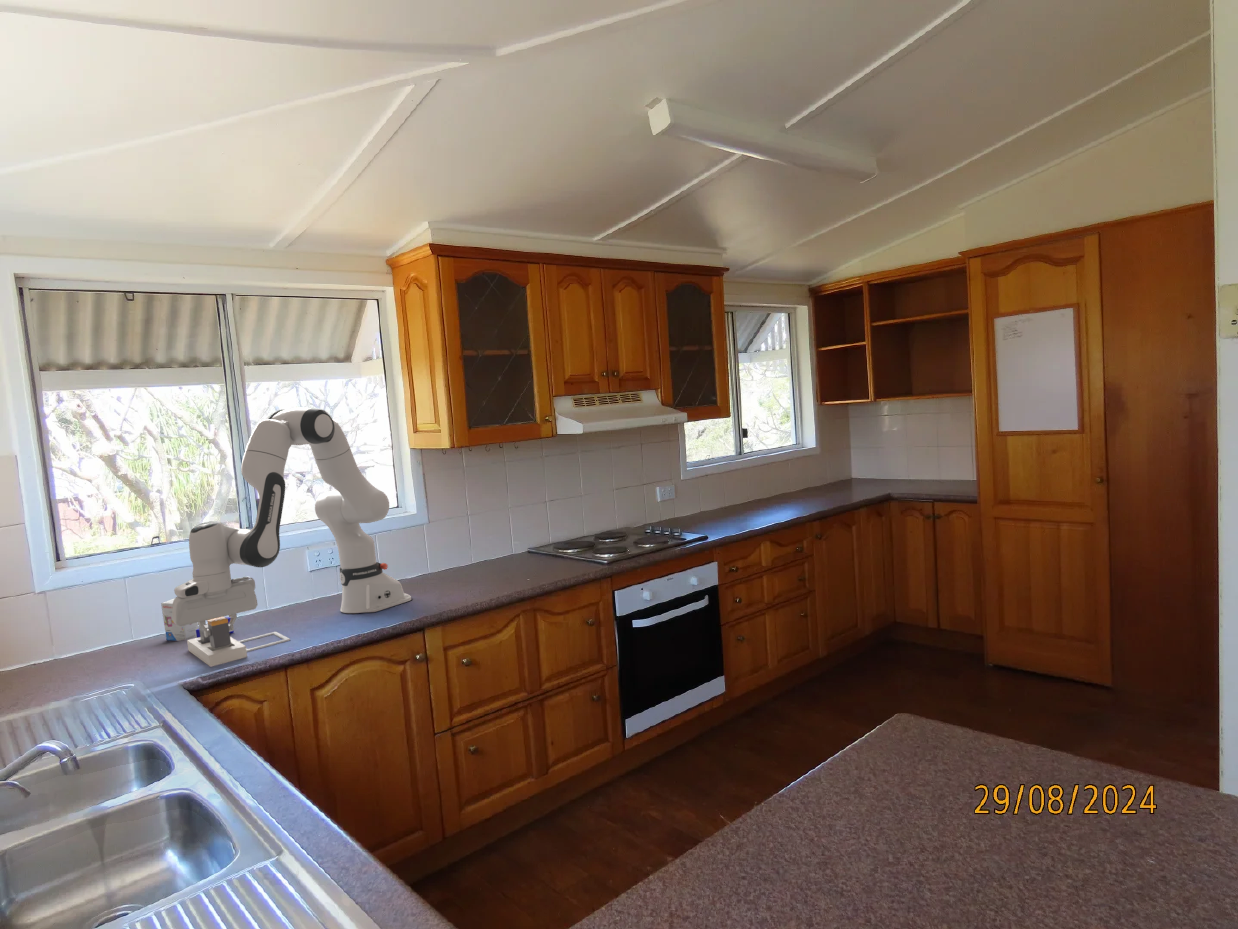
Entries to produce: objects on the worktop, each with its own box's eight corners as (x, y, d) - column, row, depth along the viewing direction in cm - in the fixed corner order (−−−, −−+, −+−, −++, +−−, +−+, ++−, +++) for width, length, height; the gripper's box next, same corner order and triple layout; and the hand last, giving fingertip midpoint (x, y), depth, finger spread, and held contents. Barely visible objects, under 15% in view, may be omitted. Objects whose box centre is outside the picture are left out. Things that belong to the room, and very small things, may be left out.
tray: (276, 636, 226) (275, 631, 226) (290, 643, 217) (290, 638, 217) (232, 647, 218) (231, 642, 218) (245, 655, 209) (245, 650, 209)
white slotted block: (223, 645, 221) (221, 631, 221) (247, 660, 205) (245, 646, 205) (188, 654, 215) (187, 640, 215) (210, 670, 199) (209, 655, 199)
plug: (226, 641, 209) (223, 616, 208) (231, 644, 206) (227, 618, 205) (210, 645, 206) (207, 620, 206) (214, 648, 203) (211, 622, 203)
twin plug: (217, 646, 217) (214, 622, 216) (221, 649, 214) (218, 625, 213) (202, 650, 214) (198, 626, 213) (206, 653, 211) (202, 628, 210)
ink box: (165, 640, 231) (159, 602, 230) (179, 635, 236) (174, 597, 235) (186, 641, 228) (180, 602, 227) (200, 636, 233) (195, 598, 232)
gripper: (250, 573, 214) (256, 622, 215) (167, 590, 200) (174, 641, 201) (257, 576, 209) (263, 625, 210) (173, 593, 196) (180, 646, 197)
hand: (219, 633), depth 206 cm, fingers closed on plug, 4 cm apart
